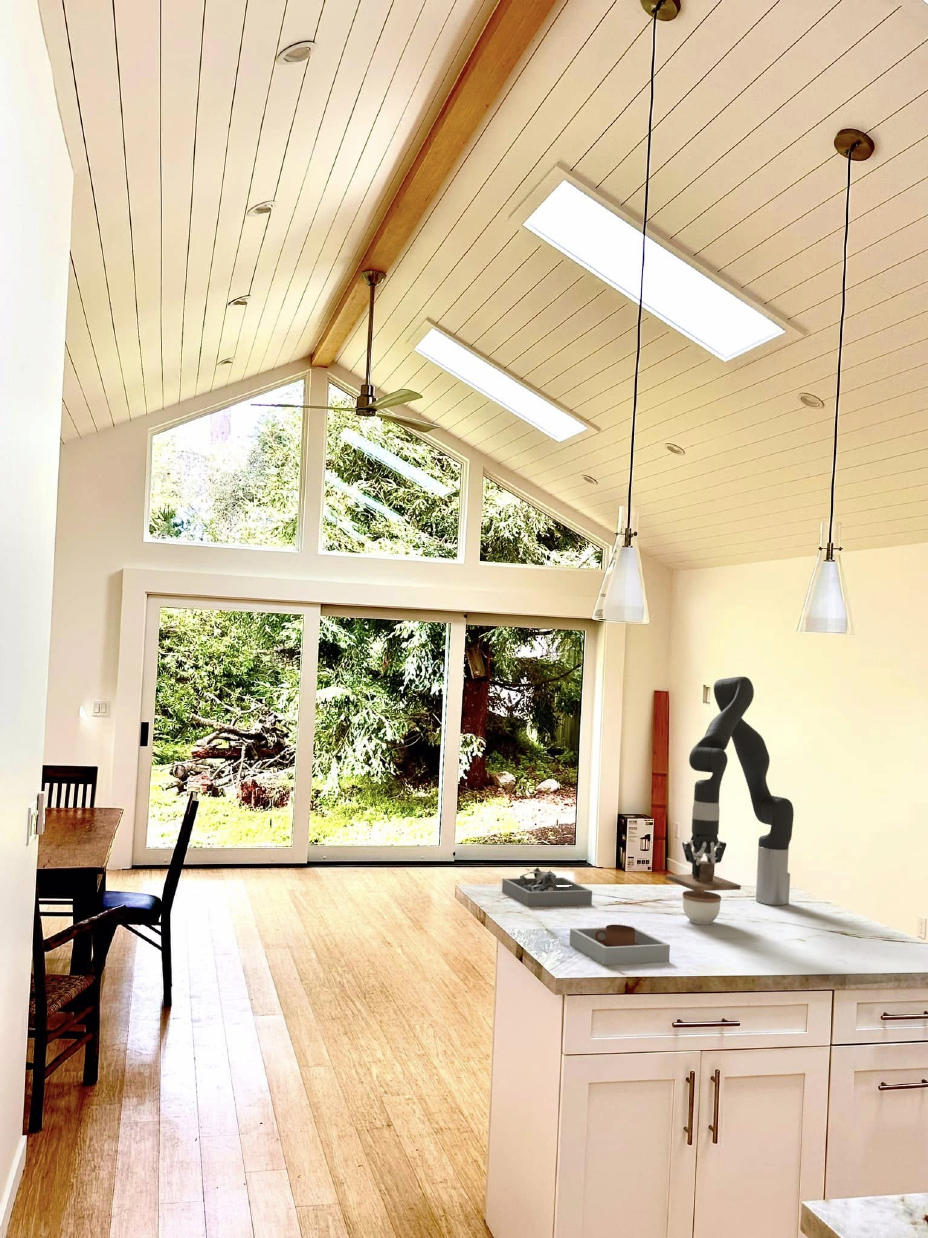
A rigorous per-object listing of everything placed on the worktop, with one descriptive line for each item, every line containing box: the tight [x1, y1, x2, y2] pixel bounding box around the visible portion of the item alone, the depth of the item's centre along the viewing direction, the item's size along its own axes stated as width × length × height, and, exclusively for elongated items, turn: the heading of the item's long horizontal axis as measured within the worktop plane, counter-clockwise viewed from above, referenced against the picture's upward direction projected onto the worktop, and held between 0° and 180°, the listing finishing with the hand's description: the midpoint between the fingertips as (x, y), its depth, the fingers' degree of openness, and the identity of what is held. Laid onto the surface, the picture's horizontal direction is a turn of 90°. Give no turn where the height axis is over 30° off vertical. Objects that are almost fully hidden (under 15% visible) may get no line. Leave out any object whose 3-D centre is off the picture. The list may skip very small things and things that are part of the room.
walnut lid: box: [665, 860, 741, 892], centre depth 298 cm, size 15×15×6 cm
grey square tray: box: [569, 925, 671, 966], centre depth 259 cm, size 18×18×4 cm
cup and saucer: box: [595, 924, 640, 947], centre depth 260 cm, size 12×12×6 cm
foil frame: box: [501, 876, 593, 907], centre depth 316 cm, size 21×19×4 cm
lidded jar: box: [682, 889, 722, 925], centre depth 297 cm, size 11×11×9 cm
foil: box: [518, 866, 558, 892], centre depth 317 cm, size 12×11×15 cm
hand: (702, 877), depth 298 cm, fingers closed on walnut lid, 4 cm apart
